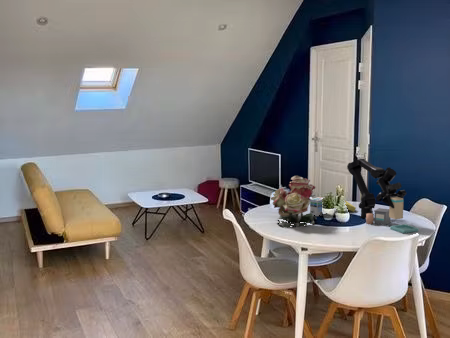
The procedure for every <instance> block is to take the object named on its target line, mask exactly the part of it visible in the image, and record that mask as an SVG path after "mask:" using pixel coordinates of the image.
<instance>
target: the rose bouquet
mask: <svg viewBox="0 0 450 338" xmlns="http://www.w3.org/2000/svg"><path fill="white" fill-rule="evenodd" d="M290 180H292V181H289V184H288V187H289V189H290V191H288V190H286V189H284V187H280V188H278V189H277V190H275V191H274V193H272V195H273V196H271V197H270V200H271V201H273V202H272V205H273V208H274V209H276V208H278V209H277V210H278V216H279V217H278V218H277V220H278V219H283V220H286V221H290V222H296V223H287V222H284V221H281V222H282V223H279V224H278V225H280V226H282V228H284V227H290V226H297V227H296V228H299V227H300V226H304V225H307V224H303V223H300V222H308V223H310V221H311V223H310V224H314V225H315V221H314V220H317V216H314V215H313V214H311V213H312V212H311V213H310V212H309V213H306V214H304V213H305V212H308V208H309V207H310V201H311V199H312V198H314V197H316V195H314V191H313V190H315V189H316V186H315V185H313V184H309V183H310V182H311V179H308V178H306V177H305V178H304V177H302V176H300V175H294V176H292V177H291V178H290ZM291 224H294V225H291Z"/></svg>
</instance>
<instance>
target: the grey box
mask: <svg viewBox="0 0 450 338" xmlns="http://www.w3.org/2000/svg"><path fill="white" fill-rule="evenodd" d="M373 213H374V224H375V225H380V226H381V225H382V226H387V225H388V224H390V223H391V218H390V217H389V208H381V207H378V208H377V209H375V210H373ZM374 224H373V225H374Z"/></svg>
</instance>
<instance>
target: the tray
mask: <svg viewBox="0 0 450 338" xmlns="http://www.w3.org/2000/svg"><path fill="white" fill-rule="evenodd" d="M419 229H420V228H419V227H416V226H412V225H410V224H407V223H403V224H396V225H390V227H389V230H392V231H395V232H397V233H400V234H409V233H417V232H419Z"/></svg>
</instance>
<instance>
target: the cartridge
mask: <svg viewBox="0 0 450 338" xmlns="http://www.w3.org/2000/svg"><path fill="white" fill-rule="evenodd" d="M374 216H375V213H373V214H372V213H367V214H366V218H365V224H366V225H374Z"/></svg>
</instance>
